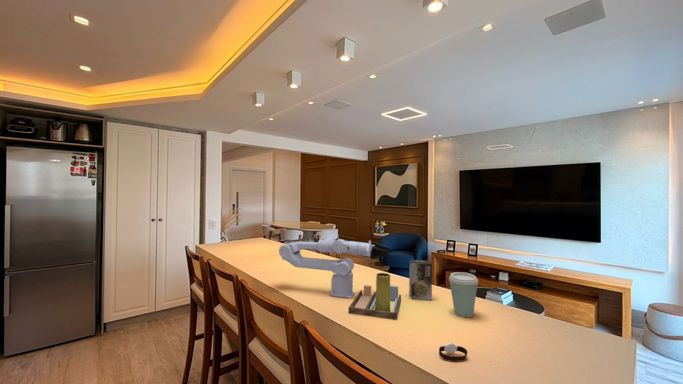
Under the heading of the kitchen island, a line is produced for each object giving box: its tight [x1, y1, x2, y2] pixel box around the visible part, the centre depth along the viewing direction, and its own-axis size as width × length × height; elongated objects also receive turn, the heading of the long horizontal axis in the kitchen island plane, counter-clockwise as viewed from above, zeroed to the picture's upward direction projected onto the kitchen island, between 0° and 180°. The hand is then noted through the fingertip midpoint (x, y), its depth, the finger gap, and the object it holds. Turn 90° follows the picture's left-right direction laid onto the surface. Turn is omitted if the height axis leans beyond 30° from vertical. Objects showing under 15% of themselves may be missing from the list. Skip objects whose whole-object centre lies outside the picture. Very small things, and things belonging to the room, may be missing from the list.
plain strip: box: [355, 284, 373, 309], centre depth 117 cm, size 5×20×5 cm, turn 164°
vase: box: [374, 272, 392, 312], centre depth 110 cm, size 6×6×14 cm
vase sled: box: [370, 284, 399, 313], centre depth 115 cm, size 9×20×6 cm, turn 164°
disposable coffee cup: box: [448, 271, 479, 318], centre depth 109 cm, size 11×11×15 cm
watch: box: [438, 342, 468, 362], centre depth 78 cm, size 8×5×4 cm, turn 92°
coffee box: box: [408, 259, 433, 301], centre depth 127 cm, size 9×6×16 cm
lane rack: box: [348, 289, 402, 321], centre depth 115 cm, size 18×22×2 cm
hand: (389, 252), depth 124 cm, fingers open, 7 cm apart
